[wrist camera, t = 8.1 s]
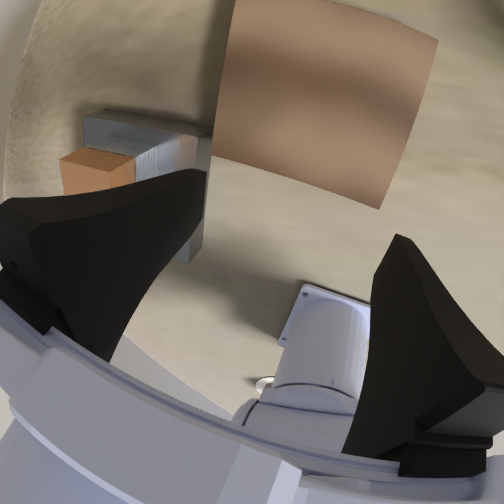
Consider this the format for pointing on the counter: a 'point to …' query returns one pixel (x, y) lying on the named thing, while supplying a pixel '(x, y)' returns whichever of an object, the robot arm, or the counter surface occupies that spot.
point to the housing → (108, 165)
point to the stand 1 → (160, 150)
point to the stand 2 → (320, 94)
